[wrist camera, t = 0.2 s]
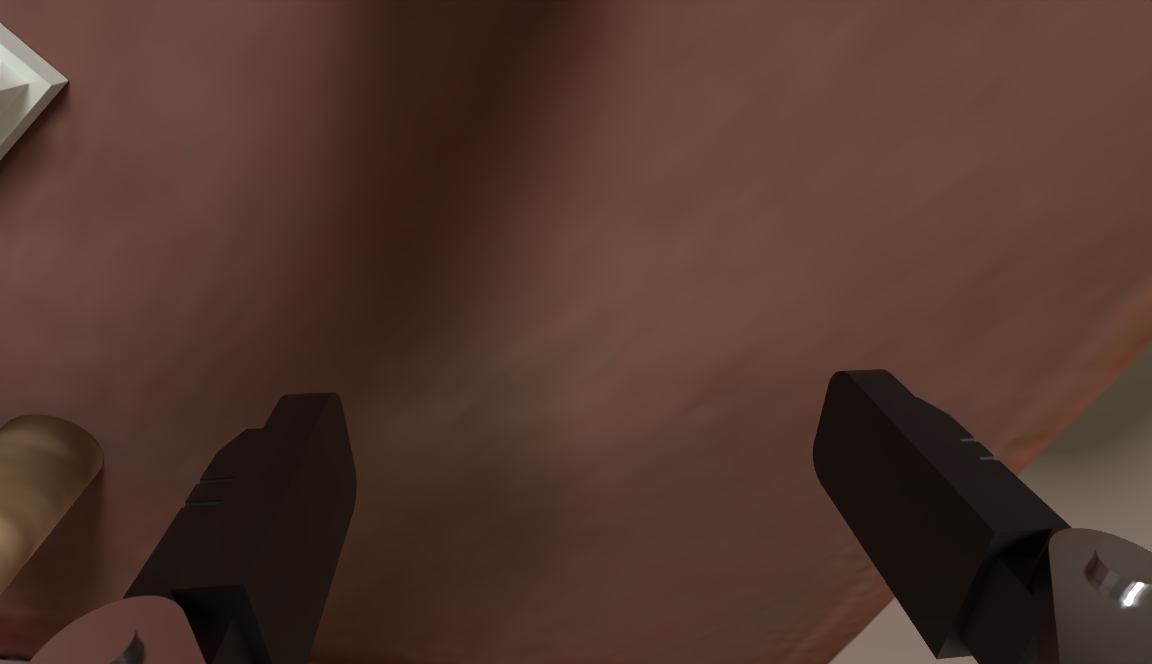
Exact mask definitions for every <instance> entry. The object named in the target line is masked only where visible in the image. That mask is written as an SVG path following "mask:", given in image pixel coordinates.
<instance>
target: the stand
mask: <svg viewBox="0 0 1152 664" xmlns="http://www.w3.org/2000/svg"><path fill="white" fill-rule="evenodd" d="M68 81H69V80H67V79H66V78H65V77H64V76H63V75H61V74H60V73H59V72H58V71H57V70H55V69H54V68H53V67H52V66H51V65H50V64H48V63H47V62H46V61H45V60H44V59H42V58H41V57H40V56H39V55H38V54H36V53H35V52H34V51H33V50H32V49H30V48H29V47H28V46H27V45H26V44H25V43H23V42H22V41H21V40H20V39H19V38H17V37H16V36H15V35H14V34H13V33H11V32H10V31H9V30H8V29H7V28H5V27H4V26H3V25H2V24H1V23H0V160H1V159H2V158H3V157H4V155H5V154H6V153H7V152H8V151H9V150H10V148H11V147H12V146H13V145H14V144H15V143H16V141H17V140H18V139H19V138H20V137H21V136H22V134H23V133H24V132H25V131H26V130H27V129H28V128H29V126H30V125H31V124H32V123H33V122H34V121H35V119H36V118H37V117H38V116H39V115H40V114H41V112H42V111H43V110H44V109H45V108H46V107H47V105H48V104H49V103H50V102H51V101H52V100H53V98H54V97H55V96H56V95H57V94H58V93H59V91H60V90H61V89H62V88H63V87H64V86H65V84H66V83H67V82H68Z"/></svg>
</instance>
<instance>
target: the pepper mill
mask: <svg viewBox="0 0 1152 664" xmlns="http://www.w3.org/2000/svg"><path fill="white" fill-rule="evenodd" d="M103 462H104V456H103V452H102V450H101V448H100V446H99V444H98V443H97V442H96V440H95V439H94V438H93V437H92V436H91V435H90V434H88V433H87V432H86V431H84V430H83V429H82V428H80V427H78V426H76V425H75V424H72V423H70V422H68V421H65V420H63V419H59V418H56V417H51V416H45V415H26V416H20V417H17V418H15V419H12V420H10V421H9V422H8V423H6V424H5V425H4V426H3V427H2V428H1V429H0V595H1V594H2V593H3V591H4V590H5V589H6V588H7V586H8V585H9V584H10V583H11V581H12V580H13V579H14V578H15V576H16V575H17V574H18V573H19V571H20V570H21V569H22V568H23V566H24V565H25V564H26V563H27V561H28V560H29V559H30V558H31V556H32V555H33V554H34V553H35V551H36V550H37V549H38V548H39V546H40V545H41V544H42V543H43V541H44V540H45V539H46V538H47V536H48V535H49V534H50V533H51V531H52V530H53V529H54V528H55V526H56V525H57V524H58V522H59V521H60V520H61V519H62V517H63V516H64V515H65V514H66V512H67V511H68V510H69V509H70V507H71V506H72V505H73V504H74V502H75V501H76V500H77V499H78V497H79V496H80V495H81V494H82V492H83V491H84V490H85V489H86V487H87V486H88V485H89V484H90V482H91V481H92V480H93V479H94V477H95V476H96V475H97V474H98V472H99V471H100V470H101V468H102V466H103Z"/></svg>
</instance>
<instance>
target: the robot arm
mask: <svg viewBox="0 0 1152 664" xmlns="http://www.w3.org/2000/svg"><path fill="white" fill-rule="evenodd" d="M993 456H994V455H993V454H991V453H990V452H989V451H988V450H987V449H986V448H985V447H984V446H983V445H982V444H981V443H980V442H974V437H973V436H972V435H971V434H970V433H969V432H968V431H967V430H965V429H964V428H963V427H962V426H961V425H960V424H959V423H958V422H957V421H956V420H955V419H954V418H952V417H951V416H950V415H949V414H947V413H945V412H943V411H941V410H940V409H938V408H936V407H934V406H933V405H931V404H929V403H927V402H925V401H924V400H922V399H920V398H918V397H917V398H916V397H915V396H914V395H913V394H912V393H911V392H910V391H909V390H908V389H907V388H906V387H904V386H903V385H902V384H901V383H900V382H899V381H898V380H897V379H896V378H895V377H894V376H893V375H892V374H891V373H889V372H888V371H886V370H883V369H877V370H855V371H838V372H836V373H835V374H834V375H833V376H832V377H831V379H830V382H829V385H828V389H827V393H826V397H825V401H824V405H823V409H822V413H821V417H820V421H819V425H818V429H817V433H816V437H815V441H814V446H813V462H814V467H815V471H816V474H817V477H818V479H819V481H820V483H821V484H822V486H823V488H824V489H825V491H826V492H827V494H828V495H829V497H830V498H831V500H832V501H833V503H834V504H835V506H836V507H837V509H838V510H839V512H840V513H841V515H842V516H843V518H844V519H845V521H846V522H847V524H848V525H849V527H850V529H851V530H852V532H853V533H854V535H855V536H856V538H857V539H858V541H859V542H860V544H861V545H862V547H863V548H864V550H865V551H866V553H867V554H868V556H869V557H870V559H871V560H872V562H873V563H874V565H875V567H876V568H877V570H878V571H879V573H880V574H881V576H882V577H883V579H884V580H885V582H886V583H887V585H888V586H889V588H890V589H891V591H892V592H893V594H894V595H895V597H896V598H897V600H898V601H899V603H900V604H901V606H902V607H903V609H904V611H905V612H906V613H907V615H908V616H909V618H910V620H911V621H912V623H913V624H914V626H915V627H916V629H917V630H918V631H919V633H920V635H921V636H922V638H923V639H924V641H925V642H926V644H927V645H928V647H929V649H930V650H931V651H932V653H933V654H934V656H935V657H936V659H943V658H953V657H964V656H973V657H974V658H975V659H976V661H977V662H978V664H1152V552H1151V551H1148V550H1147V549H1145V548H1143V547H1141V546H1140V545H1138V544H1135V543H1133V542H1131V541H1129V540H1126V539H1124V538H1121V537H1119V536H1116V535H1113V534H1109V533H1106V532H1102V531H1098V530H1093V529H1086V528H1071V527H1070V526H1069V525H1068V524H1067V523H1066V522H1065V521H1064V520H1063V519H1062V518H1061V517H1060V516H1059V515H1058V514H1056V513H1055V512H1054V511H1053V510H1052V509H1051V508H1050V507H1049V506H1048V505H1047V504H1046V503H1044V502H1043V501H1042V500H1041V499H1040V498H1039V497H1038V496H1037V495H1036V494H1035V493H1034V492H1033V491H1032V490H1030V489H1029V488H1028V487H1027V486H1026V485H1025V484H1024V483H1023V482H1022V481H1021V480H1020V479H1018V478H1017V477H1016V476H1015V475H1014V474H1013V473H1012V472H1011V471H1010V470H1009V469H1008V468H1007V467H1006V466H1004V465H1003V464H1002V463H1001V462H1000V461H999V460H994V458H993ZM355 499H356V471H355V466H354V461H353V456H352V451H351V446H350V441H349V436H348V432H347V427H346V422H345V417H344V412H343V407H342V403H341V400H340V398H339V396H338V394H337V393H335V392H332V393H309V394H287V395H283V396H282V397H281V398H280V400H279V401H278V403H277V405H276V407H275V408H274V410H273V412H272V413H271V415H270V417H269V419H268V420H267V422H266V424H265V426H264V427H263V428H260V429H246V430H245V431H244V432H242V433H241V434H240V435H239V436H237V437H236V438H235V439H234V440H232V441H231V442H230V443H229V444H227V445H226V446H225V447H223V448H222V449H221V450H220V451H218V452H217V454H216V455H215V457H214V458H213V460H212V461H211V463H210V464H209V466H208V468H207V469H206V471H205V472H204V474H203V475H202V477H201V478H200V484H197V485H196V486H195V488H194V489H193V491H192V492H191V494H190V495H189V497H188V498H187V500H186V502H185V503H186V505H185V508H181V509H180V511H179V512H178V514H177V515H176V517H175V519H174V520H173V522H172V523H171V525H170V526H169V528H168V529H167V531H166V532H165V534H164V536H163V537H162V539H161V540H160V542H159V543H158V545H157V546H156V548H155V549H154V551H153V553H152V554H151V556H150V557H149V559H148V560H147V562H146V563H145V565H144V566H143V568H142V570H141V571H140V573H139V574H138V576H137V577H136V579H135V580H134V582H133V583H132V585H131V586H130V588H129V590H128V591H127V593H126V594H125V596H124V597H123V599H122V600H119V601H116V602H113V603H110V604H107V605H104V606H102V607H100V608H98V609H95V610H93V611H91V612H89V613H88V614H86V615H84V616H82V617H80V618H79V619H77V620H76V621H74V622H72V623H71V624H69V625H68V626H66V627H65V628H64V629H62V630H61V631H60V632H59V633H57V634H56V635H55V636H54V637H52V638H51V639H50V640H49V641H48V642H47V643H46V644H45V645H44V646H43V647H42V648H41V649H40V650H39V651H38V652H37V654H36V655H35V656H34V657H33V658H32V659H31V661H30V662H29V664H307V662H308V658H309V655H310V652H311V648H312V645H313V642H314V639H315V635H316V632H317V629H318V625H319V622H320V619H321V615H322V612H323V609H324V606H325V602H326V599H327V596H328V592H329V589H330V586H331V582H332V579H333V576H334V573H335V569H336V566H337V563H338V559H339V556H340V553H341V550H342V546H343V543H344V540H345V536H346V533H347V530H348V526H349V523H350V520H351V517H352V513H353V510H354V505H355Z"/></svg>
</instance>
